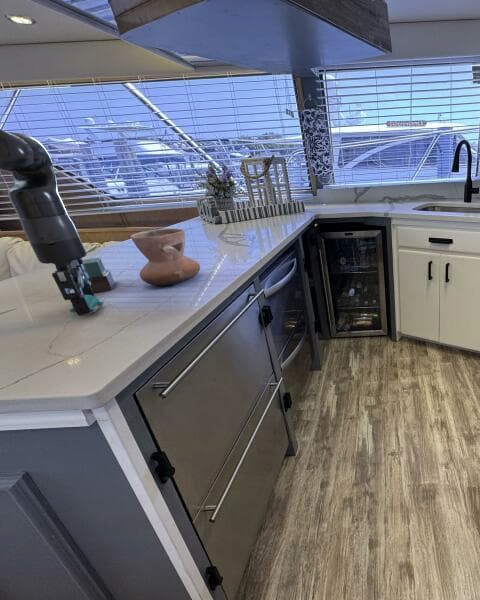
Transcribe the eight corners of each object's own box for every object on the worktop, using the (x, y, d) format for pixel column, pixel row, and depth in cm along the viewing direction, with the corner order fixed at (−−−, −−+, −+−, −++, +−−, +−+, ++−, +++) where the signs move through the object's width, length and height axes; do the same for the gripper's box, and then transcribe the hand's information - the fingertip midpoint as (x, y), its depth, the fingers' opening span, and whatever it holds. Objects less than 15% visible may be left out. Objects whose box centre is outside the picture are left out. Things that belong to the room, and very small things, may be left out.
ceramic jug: (210, 280, 92) (195, 231, 87) (149, 295, 83) (129, 241, 78) (193, 268, 104) (180, 224, 99) (139, 280, 95) (120, 232, 90)
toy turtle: (105, 304, 79) (98, 289, 77) (106, 312, 74) (99, 297, 72) (72, 311, 75) (65, 296, 74) (72, 321, 70) (64, 305, 69)
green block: (76, 280, 84) (69, 265, 83) (80, 275, 89) (73, 261, 87) (103, 275, 87) (97, 261, 86) (105, 271, 91) (100, 257, 90)
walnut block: (78, 295, 85) (71, 281, 83) (83, 288, 90) (77, 275, 89) (111, 289, 88) (106, 275, 87) (114, 282, 94) (109, 269, 92)
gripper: (39, 235, 71) (72, 302, 78) (17, 246, 60) (58, 324, 67) (84, 230, 75) (112, 294, 82) (70, 240, 64) (104, 314, 71)
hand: (87, 307), depth 74 cm, fingers closed on toy turtle, 7 cm apart
